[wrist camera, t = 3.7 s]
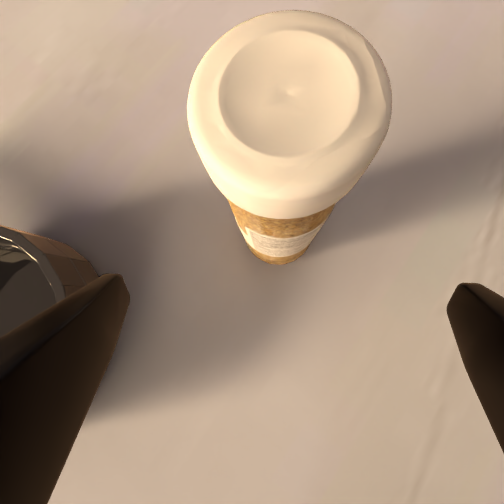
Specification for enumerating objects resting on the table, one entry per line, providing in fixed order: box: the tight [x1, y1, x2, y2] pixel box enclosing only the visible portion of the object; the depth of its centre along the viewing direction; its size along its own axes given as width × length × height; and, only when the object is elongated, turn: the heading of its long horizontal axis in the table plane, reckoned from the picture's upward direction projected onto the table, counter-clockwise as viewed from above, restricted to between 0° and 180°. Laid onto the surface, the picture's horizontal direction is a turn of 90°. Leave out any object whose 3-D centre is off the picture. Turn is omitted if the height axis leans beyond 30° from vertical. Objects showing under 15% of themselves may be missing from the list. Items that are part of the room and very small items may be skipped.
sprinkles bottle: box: [187, 10, 392, 264], centre depth 13 cm, size 5×5×14 cm
